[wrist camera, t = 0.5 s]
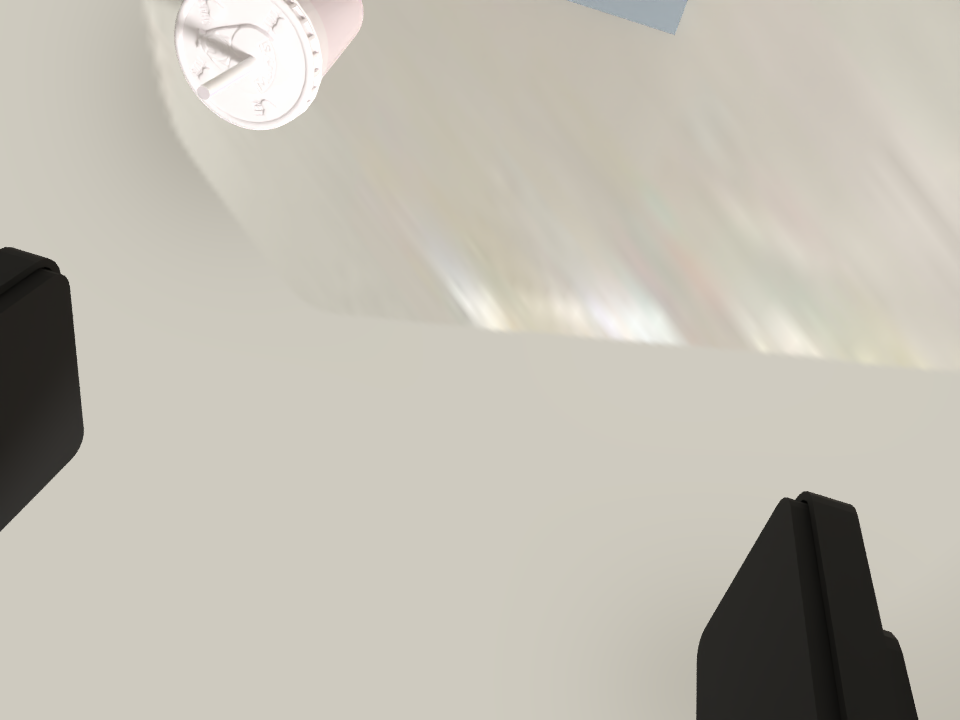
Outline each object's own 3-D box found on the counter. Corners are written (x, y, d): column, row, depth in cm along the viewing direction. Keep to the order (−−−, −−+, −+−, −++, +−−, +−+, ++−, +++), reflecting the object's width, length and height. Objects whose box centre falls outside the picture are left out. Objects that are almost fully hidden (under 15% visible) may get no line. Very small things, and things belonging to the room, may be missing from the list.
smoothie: (372, 90, 44) (256, 192, 33) (262, 45, 45) (108, 132, 33) (402, -33, 41) (281, 36, 29) (281, -83, 41) (114, -32, 29)
